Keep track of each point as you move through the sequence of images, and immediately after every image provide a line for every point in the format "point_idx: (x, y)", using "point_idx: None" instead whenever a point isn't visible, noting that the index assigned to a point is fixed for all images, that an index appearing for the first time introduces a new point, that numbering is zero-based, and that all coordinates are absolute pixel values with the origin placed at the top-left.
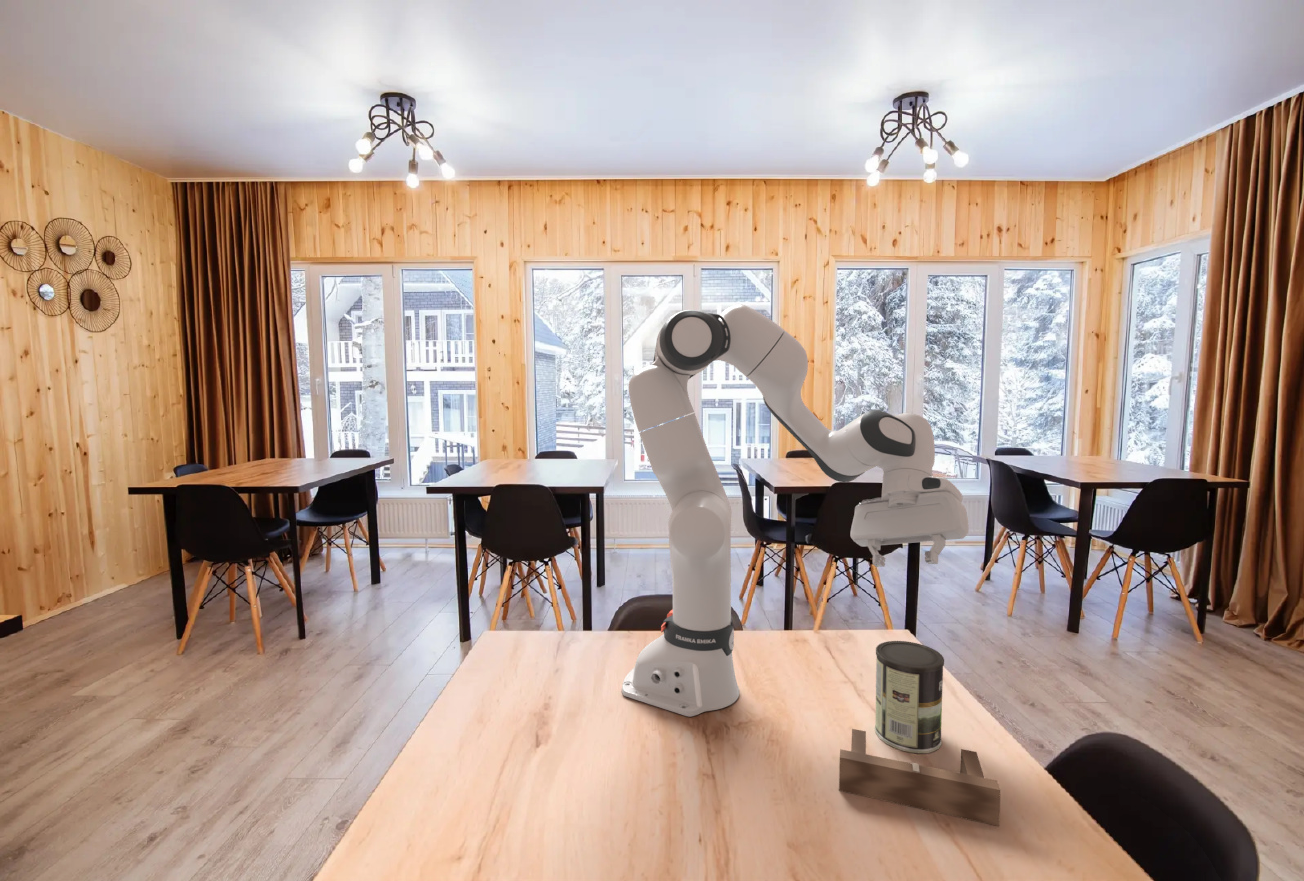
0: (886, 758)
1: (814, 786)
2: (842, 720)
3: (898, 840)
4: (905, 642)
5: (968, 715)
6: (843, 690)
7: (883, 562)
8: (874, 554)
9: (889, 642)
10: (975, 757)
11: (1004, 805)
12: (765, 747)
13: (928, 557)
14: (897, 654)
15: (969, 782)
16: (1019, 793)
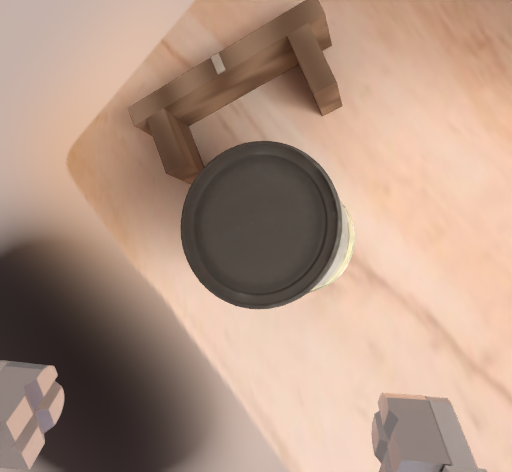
0: (258, 51)
1: (355, 7)
2: (410, 201)
3: (231, 12)
4: (289, 293)
5: (241, 376)
6: (470, 316)
7: (382, 453)
8: (462, 467)
9: (323, 261)
10: (164, 157)
11: (158, 169)
12: (477, 19)
13: (11, 375)
14: (278, 201)
15: (158, 93)
16: (149, 207)
